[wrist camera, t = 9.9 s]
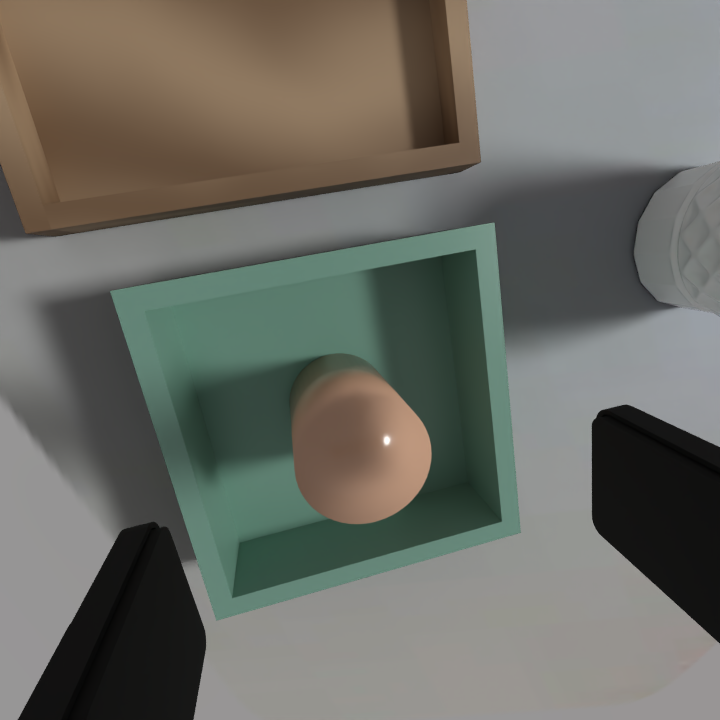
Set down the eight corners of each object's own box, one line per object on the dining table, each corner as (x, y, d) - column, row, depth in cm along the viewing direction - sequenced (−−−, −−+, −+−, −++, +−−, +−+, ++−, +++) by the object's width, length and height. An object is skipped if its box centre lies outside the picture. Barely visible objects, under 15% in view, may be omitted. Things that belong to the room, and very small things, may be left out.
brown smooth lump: (279, 364, 18) (280, 413, 13) (378, 343, 19) (422, 381, 13) (300, 456, 19) (309, 539, 14) (392, 434, 20) (438, 504, 14)
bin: (147, 283, 17) (109, 290, 13) (450, 229, 19) (494, 222, 15) (227, 553, 21) (216, 620, 17) (478, 485, 22) (520, 532, 18)
